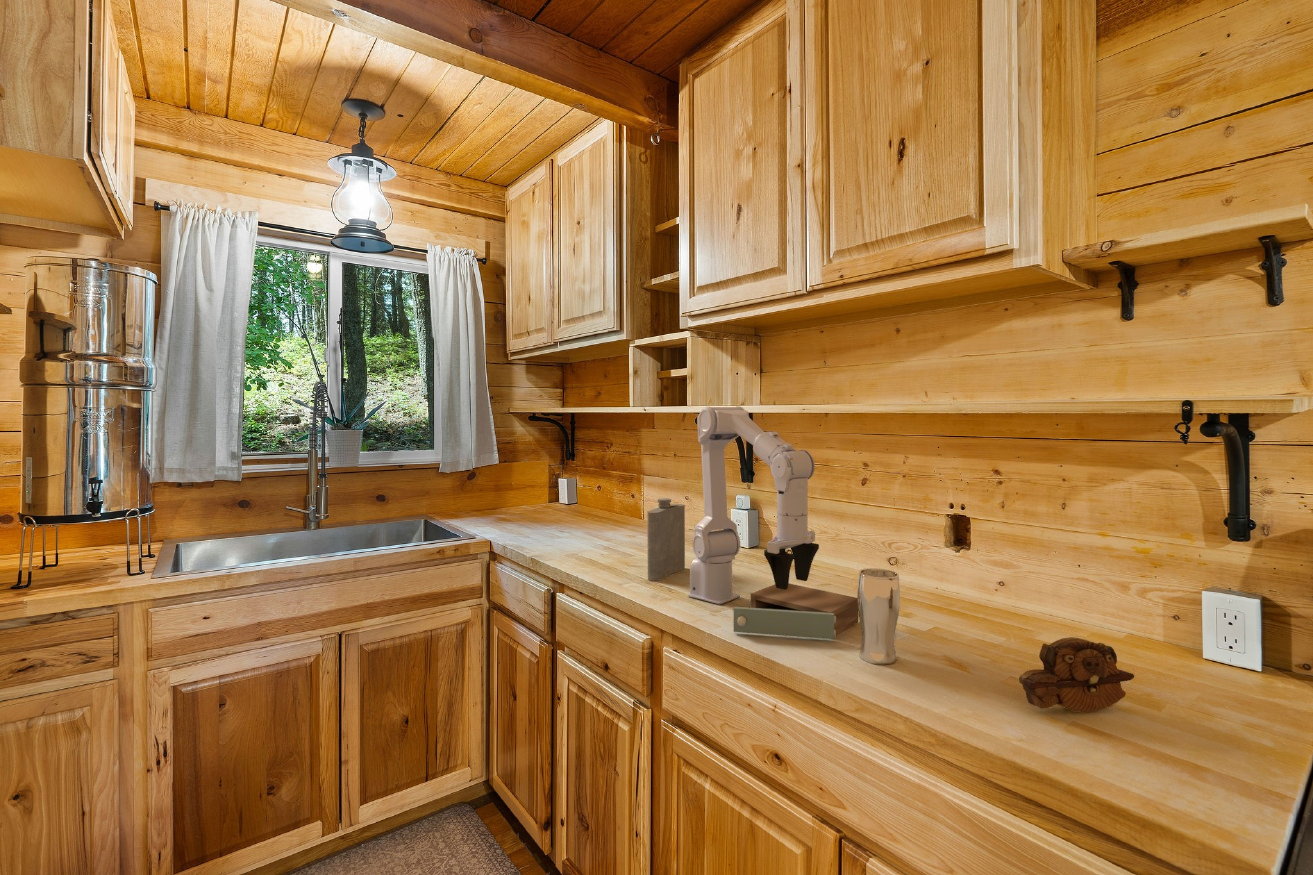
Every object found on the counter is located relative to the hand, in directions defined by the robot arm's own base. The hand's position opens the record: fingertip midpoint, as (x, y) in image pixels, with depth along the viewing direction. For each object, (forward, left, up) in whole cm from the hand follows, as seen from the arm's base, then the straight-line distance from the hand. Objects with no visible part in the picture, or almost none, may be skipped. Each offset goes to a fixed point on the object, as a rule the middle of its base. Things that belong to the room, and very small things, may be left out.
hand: (791, 584), depth 120 cm
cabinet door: (0, -3, -9) cm, 10 cm away
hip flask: (-48, +17, -10) cm, 52 cm away
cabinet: (-3, +9, -10) cm, 14 cm away
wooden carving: (+46, +1, -10) cm, 47 cm away
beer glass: (+17, 0, -10) cm, 20 cm away
